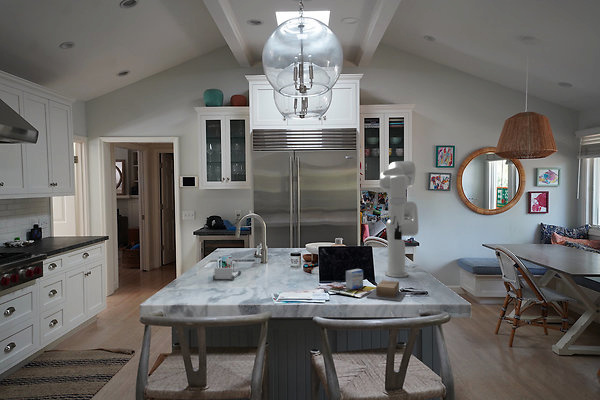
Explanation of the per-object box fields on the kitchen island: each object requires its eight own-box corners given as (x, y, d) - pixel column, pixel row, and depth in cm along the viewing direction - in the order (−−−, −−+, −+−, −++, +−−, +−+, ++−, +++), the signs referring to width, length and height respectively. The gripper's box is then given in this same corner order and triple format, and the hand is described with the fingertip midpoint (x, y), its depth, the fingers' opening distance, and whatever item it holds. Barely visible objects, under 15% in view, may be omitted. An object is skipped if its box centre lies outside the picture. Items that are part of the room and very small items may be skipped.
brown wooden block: (382, 280, 192) (376, 286, 181) (398, 281, 189) (393, 287, 178) (382, 289, 192) (376, 295, 181) (399, 290, 189) (393, 297, 178)
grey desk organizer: (222, 257, 235) (241, 257, 233) (223, 273, 235) (242, 274, 234) (212, 263, 217) (232, 263, 215) (212, 281, 217) (233, 281, 216)
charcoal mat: (374, 290, 192) (374, 289, 192) (406, 293, 186) (406, 292, 186) (366, 298, 180) (366, 296, 180) (400, 301, 173) (400, 300, 173)
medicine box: (351, 289, 194) (351, 272, 194) (345, 287, 198) (345, 270, 198) (363, 286, 199) (363, 269, 199) (357, 285, 203) (357, 268, 202)
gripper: (393, 200, 198) (393, 236, 200) (386, 202, 185) (386, 241, 186) (409, 200, 195) (409, 237, 196) (402, 203, 181) (402, 242, 183)
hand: (398, 239), depth 191 cm, fingers closed
